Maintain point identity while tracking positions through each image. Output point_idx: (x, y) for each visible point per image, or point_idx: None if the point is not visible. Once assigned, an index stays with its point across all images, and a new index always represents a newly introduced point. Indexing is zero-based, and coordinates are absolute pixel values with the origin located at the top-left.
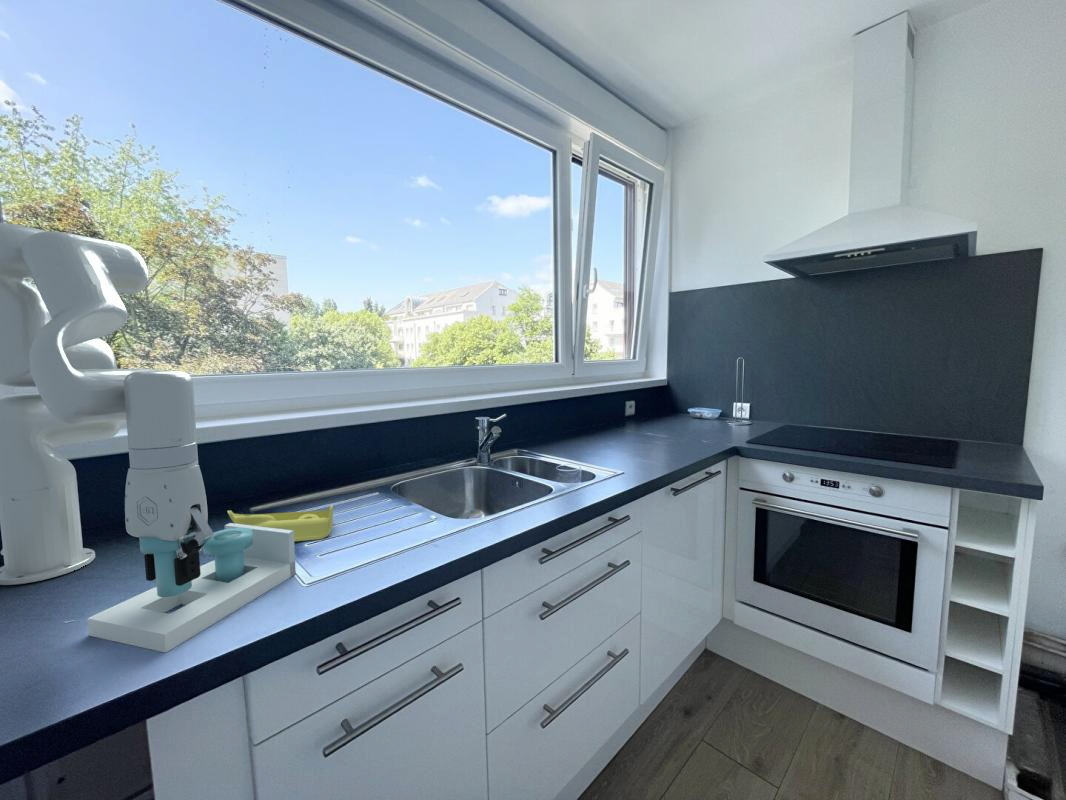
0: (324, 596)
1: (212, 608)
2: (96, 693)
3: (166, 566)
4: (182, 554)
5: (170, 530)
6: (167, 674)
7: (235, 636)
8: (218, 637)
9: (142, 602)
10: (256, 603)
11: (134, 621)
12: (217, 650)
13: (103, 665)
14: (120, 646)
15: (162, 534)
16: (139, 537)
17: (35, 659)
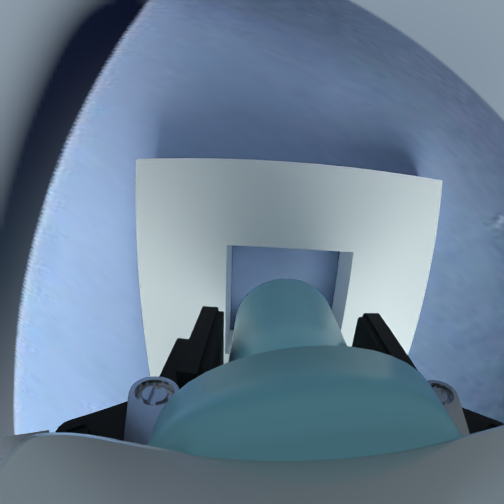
0: (56, 387)
1: (141, 295)
2: (170, 30)
3: (257, 348)
4: (142, 395)
5: (26, 494)
6: (88, 111)
7: (72, 248)
8: (98, 237)
9: (375, 279)
10: (145, 363)
11: (294, 188)
12: (64, 199)
13: (256, 87)
14: (297, 152)
15: (145, 491)
16: (444, 434)
17: (431, 89)
